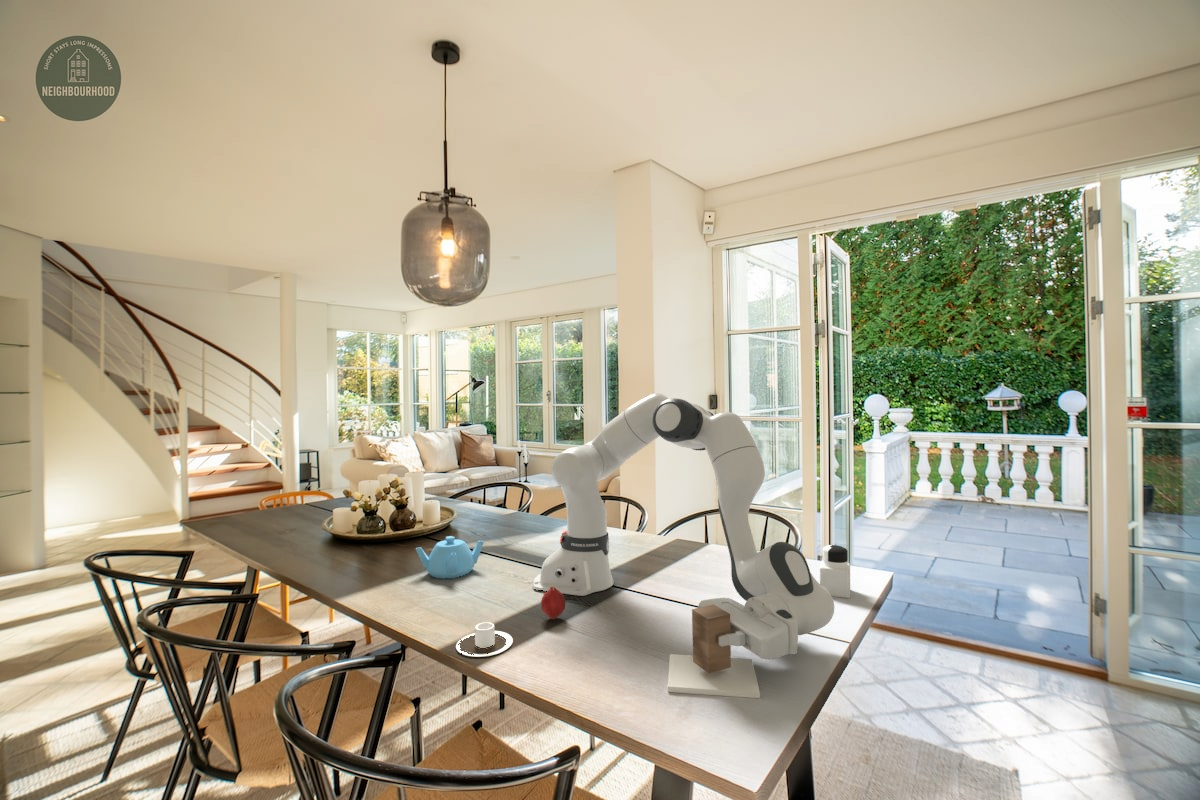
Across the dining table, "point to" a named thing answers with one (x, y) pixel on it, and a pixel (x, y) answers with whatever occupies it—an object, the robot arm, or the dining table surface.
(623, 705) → the dining table surface
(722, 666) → the walnut block
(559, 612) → the onion
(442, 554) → the teapot
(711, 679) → the serving plate
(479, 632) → the candle holder
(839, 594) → the medicine bottle
